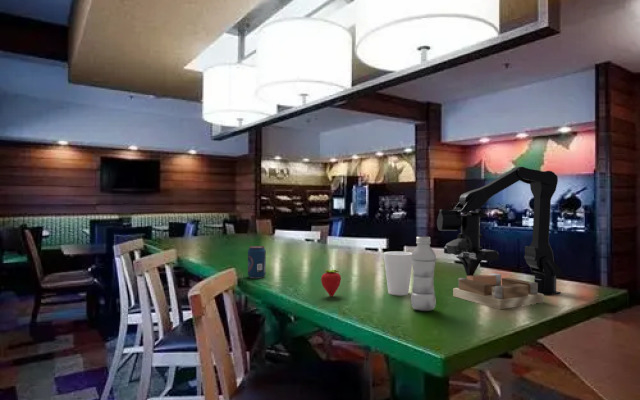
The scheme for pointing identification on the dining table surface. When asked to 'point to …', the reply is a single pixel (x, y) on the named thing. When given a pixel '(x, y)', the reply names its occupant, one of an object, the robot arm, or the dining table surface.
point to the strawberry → (331, 281)
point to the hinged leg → (487, 278)
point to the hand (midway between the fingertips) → (469, 278)
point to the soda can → (256, 262)
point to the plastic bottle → (423, 275)
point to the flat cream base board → (499, 293)
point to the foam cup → (398, 272)
